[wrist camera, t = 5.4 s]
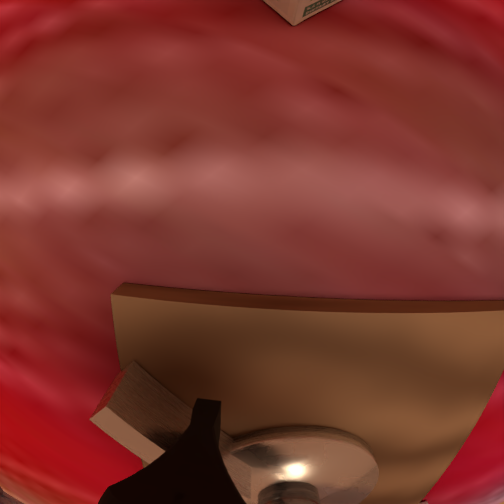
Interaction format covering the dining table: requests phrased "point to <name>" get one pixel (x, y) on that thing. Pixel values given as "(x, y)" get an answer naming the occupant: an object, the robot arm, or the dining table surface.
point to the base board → (325, 368)
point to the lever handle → (243, 447)
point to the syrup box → (299, 8)
